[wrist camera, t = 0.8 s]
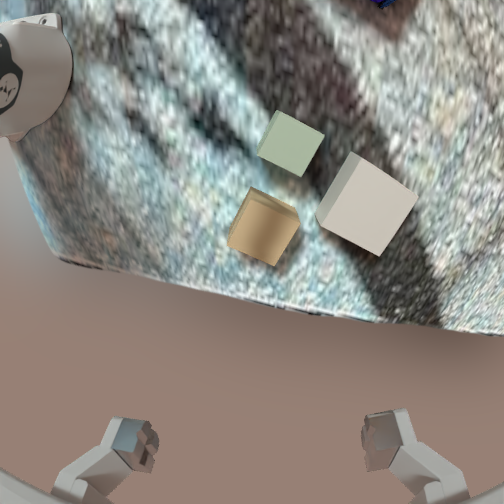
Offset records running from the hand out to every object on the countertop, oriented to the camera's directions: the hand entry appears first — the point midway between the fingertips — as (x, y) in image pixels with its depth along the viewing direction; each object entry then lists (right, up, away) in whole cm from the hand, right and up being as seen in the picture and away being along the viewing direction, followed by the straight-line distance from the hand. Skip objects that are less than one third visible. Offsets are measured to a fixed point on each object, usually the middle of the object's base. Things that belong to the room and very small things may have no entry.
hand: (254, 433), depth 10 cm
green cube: (+4, +20, +24) cm, 31 cm away
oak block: (+1, +11, +28) cm, 30 cm away
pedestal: (+14, +13, +27) cm, 33 cm away
